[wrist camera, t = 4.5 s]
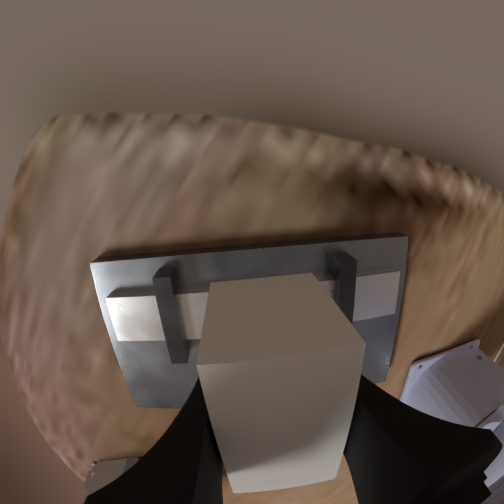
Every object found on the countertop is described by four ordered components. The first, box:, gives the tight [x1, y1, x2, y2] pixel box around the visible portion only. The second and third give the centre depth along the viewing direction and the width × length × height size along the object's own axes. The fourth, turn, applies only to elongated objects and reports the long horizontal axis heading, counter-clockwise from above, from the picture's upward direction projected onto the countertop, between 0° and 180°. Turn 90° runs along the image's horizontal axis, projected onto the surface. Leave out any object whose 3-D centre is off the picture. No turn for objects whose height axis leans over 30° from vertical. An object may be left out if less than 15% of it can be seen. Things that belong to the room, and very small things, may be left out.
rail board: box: [90, 233, 409, 408], centre depth 17 cm, size 20×12×2 cm, turn 94°
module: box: [196, 272, 366, 493], centre depth 10 cm, size 4×7×5 cm, turn 4°
